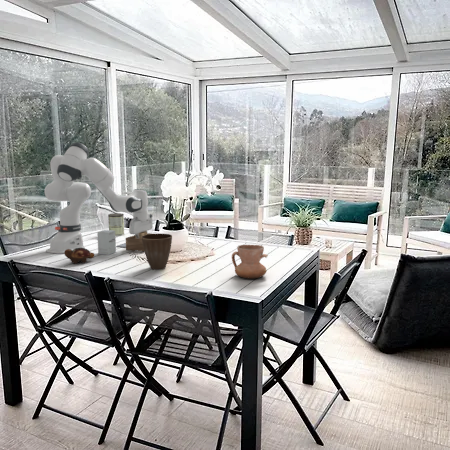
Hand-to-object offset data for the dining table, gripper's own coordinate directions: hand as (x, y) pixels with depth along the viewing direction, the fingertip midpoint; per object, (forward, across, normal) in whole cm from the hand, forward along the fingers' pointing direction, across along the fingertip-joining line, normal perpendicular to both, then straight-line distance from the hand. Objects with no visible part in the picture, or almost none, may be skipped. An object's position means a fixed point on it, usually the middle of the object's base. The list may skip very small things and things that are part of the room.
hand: (141, 239), depth 269 cm
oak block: (+2, 0, 0) cm, 2 cm away
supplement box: (+5, -20, +10) cm, 23 cm away
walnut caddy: (+5, 0, -2) cm, 5 cm away
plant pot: (+5, -37, -33) cm, 50 cm away
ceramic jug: (+5, -34, -80) cm, 87 cm away
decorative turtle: (+5, -43, +10) cm, 44 cm away
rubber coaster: (+5, 0, +10) cm, 12 cm away
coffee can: (+5, +28, +38) cm, 47 cm away
